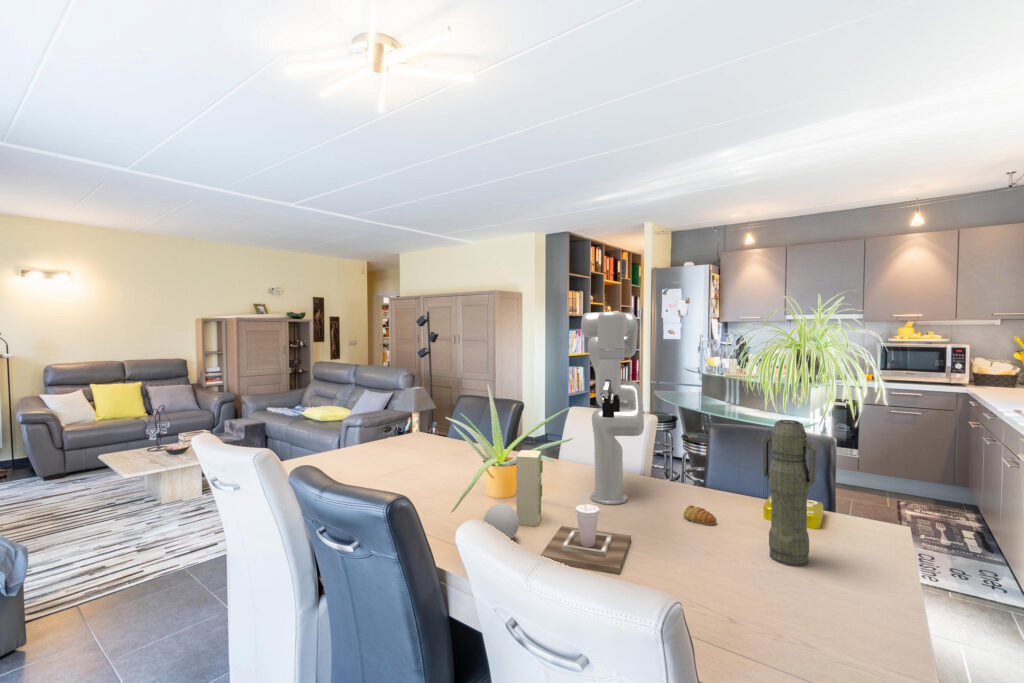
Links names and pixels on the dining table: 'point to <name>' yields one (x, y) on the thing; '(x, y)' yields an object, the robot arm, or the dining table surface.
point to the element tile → (812, 513)
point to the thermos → (789, 492)
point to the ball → (503, 519)
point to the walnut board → (589, 550)
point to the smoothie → (587, 523)
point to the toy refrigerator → (529, 487)
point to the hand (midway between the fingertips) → (611, 414)
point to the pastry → (699, 515)
